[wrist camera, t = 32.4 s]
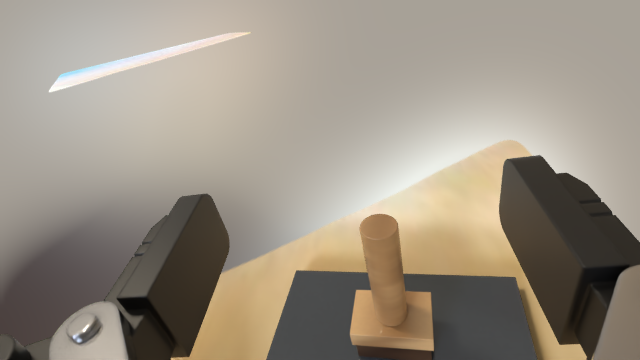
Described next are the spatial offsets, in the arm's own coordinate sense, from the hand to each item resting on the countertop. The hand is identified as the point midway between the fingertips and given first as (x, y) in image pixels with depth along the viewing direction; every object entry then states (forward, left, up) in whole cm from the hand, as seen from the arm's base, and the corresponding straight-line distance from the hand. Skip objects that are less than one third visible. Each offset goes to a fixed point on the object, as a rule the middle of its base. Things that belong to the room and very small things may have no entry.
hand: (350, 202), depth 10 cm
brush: (-1, +11, -24) cm, 26 cm away
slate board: (-2, +11, -25) cm, 27 cm away
